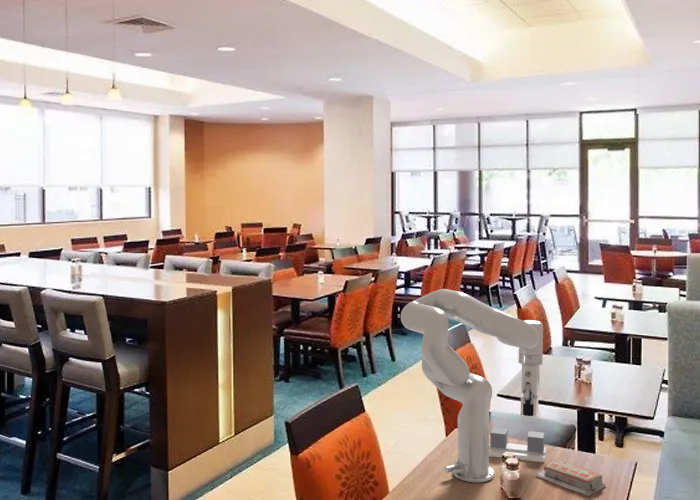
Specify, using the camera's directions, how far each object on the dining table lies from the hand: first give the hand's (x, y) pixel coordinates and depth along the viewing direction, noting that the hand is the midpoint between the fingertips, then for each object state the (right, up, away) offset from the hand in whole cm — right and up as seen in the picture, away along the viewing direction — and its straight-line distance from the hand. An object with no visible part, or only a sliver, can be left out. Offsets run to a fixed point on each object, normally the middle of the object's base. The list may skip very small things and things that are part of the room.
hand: (529, 412), depth 218 cm
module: (0, -1, 0) cm, 1 cm away
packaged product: (+8, -17, -17) cm, 26 cm away
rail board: (-3, -15, +3) cm, 15 cm away
